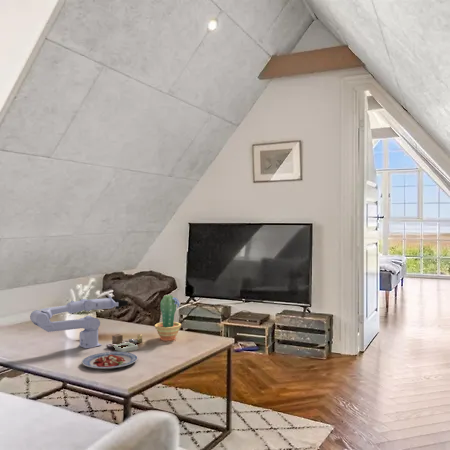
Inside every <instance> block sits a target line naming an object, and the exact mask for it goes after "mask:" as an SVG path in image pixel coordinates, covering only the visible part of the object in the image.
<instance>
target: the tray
mask: <svg viewBox="0 0 450 450" xmlns="http://www.w3.org/2000/svg"><path fill="white" fill-rule="evenodd" d="M121 345H128V346H126V347H123V348H121V347H118V346H121ZM113 347H114V348H115V350H114V351H115V352H128V353H131V352H133V351H139V345H138V344H136V345H135V344H133V343H130V342H128V341H126V342H123V343H122V344H117V345H113V346H112V348H113Z"/></svg>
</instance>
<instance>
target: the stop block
mask: <svg viewBox="0 0 450 450" xmlns="http://www.w3.org/2000/svg"><path fill="white" fill-rule="evenodd" d="M123 336H124V335H123V334H120V333H118V334H117V333H116V334H113V335H111V337H112V338H111V341H112V342H111V343H112V344H120V343H124V342H123V341H124V340H123V339H124V338H123Z"/></svg>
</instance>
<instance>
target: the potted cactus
mask: <svg viewBox="0 0 450 450" xmlns="http://www.w3.org/2000/svg"><path fill="white" fill-rule="evenodd" d="M180 304H181V303H180V301H179V299H178V298H177V297H174V296H173V295H172V294H169V295H168V294H166V295H164V296H163V297H162V299H161V301H160V311H161V313H162V314H161V315H162V316H161V317H162V319H161V320H162V322H157V323H156V324H154V328H155V330H156V331H157V334H158V336H159V337H160V338H159V339H160V340H162V341H166V342H167V341H174V340H176V339H177V338H176V336H177V335H178V334H179V331H180V328H181V327H182V324H181V323H180V322H178V321H175V313H176V311H177V309H178V308H179V307H180Z"/></svg>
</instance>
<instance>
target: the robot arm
mask: <svg viewBox="0 0 450 450" xmlns="http://www.w3.org/2000/svg"><path fill="white" fill-rule="evenodd" d="M127 305H129V302H128V300H124V299H123V300H122V299H120V298H113V297H112V296H111V295H108V297H106V298H105V297H104V298H93V299H92V298H91V299H86V298H82V299H80V300H75V301H74V300H70V301H69V302H67V304H65V305H60V306H59V305H58V306H52V307H51V306H50V307H45V308H44V307H43V308H40V309H35V310H34V311H32V312H30V315H29V318H30V321H31V322H32V323H33V324H34V325H35V326H36V327H39V328H40V329H42V330H43V331H46V332H48V333H51V332H52V333H53V332H60V331H61V332H62V331H69V330H79V329H80V330H81V329H82V330H81V331H80V332H79V344H78V346H79V347H80V348H84V349H91V348H95V347H101V346H102V344H101V343H99V327H100V326H101V320H100V319H98V318H97V317H93V316H91V315H85V316H84V317H81V318H78V319H68V320H59V321H58V320H57V321H51V320H50V319H52V317H53V315H57V314H62V313H66V312H67V313H68V314H74V313H79V312H82V311H87V312H91V311H92V310H95V311H96V310H106V309H107V310H108V309H109V310H110V309H111V310H112V309H113V308H115V310H119V309H120V308H122V307H125V306H127ZM83 329H84V330H83Z"/></svg>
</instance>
